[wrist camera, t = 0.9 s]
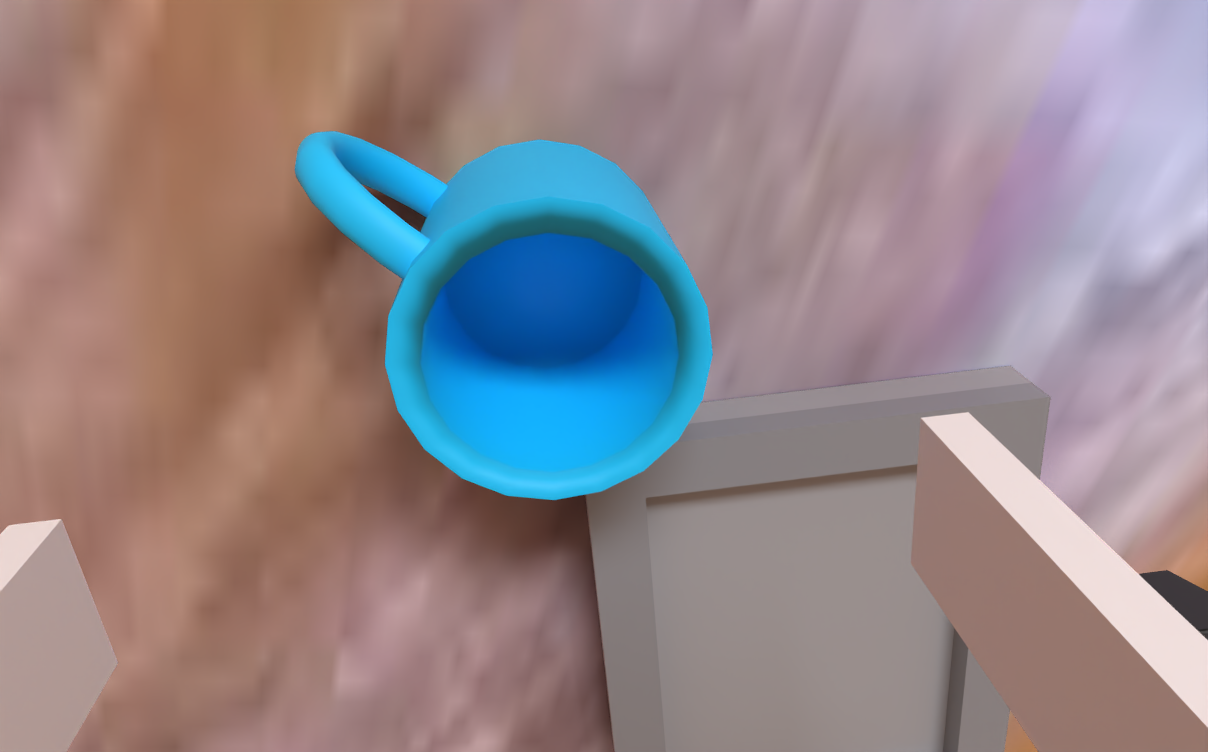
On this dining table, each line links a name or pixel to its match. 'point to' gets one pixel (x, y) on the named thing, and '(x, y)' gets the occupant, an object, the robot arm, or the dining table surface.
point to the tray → (795, 576)
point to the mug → (525, 311)
